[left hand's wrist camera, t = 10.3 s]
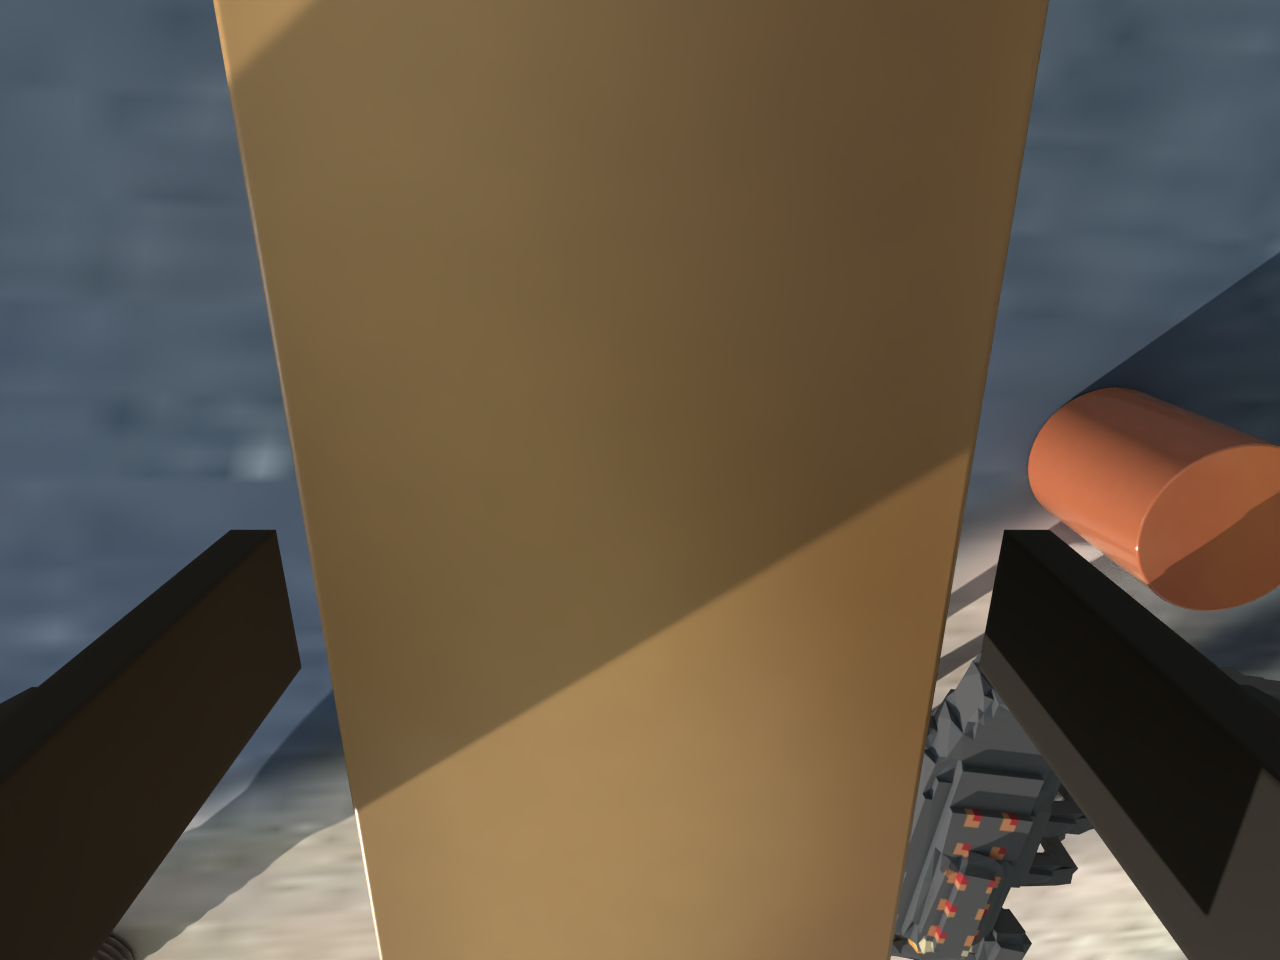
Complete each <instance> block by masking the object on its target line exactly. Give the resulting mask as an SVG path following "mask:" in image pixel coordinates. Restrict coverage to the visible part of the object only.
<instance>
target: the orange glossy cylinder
mask: <svg viewBox="0 0 1280 960" xmlns="http://www.w3.org/2000/svg"><path fill="white" fill-rule="evenodd" d="M1028 475H1029V481H1030V485H1031V488H1032V491H1033V493H1034V495H1035V497H1036V499H1037V500H1038V501H1039V503H1040V504H1041V505H1042V506H1043V507H1044V508H1045V509H1046V510H1047V511H1049V512H1050V513H1051V514H1052V515H1054V516H1055V517H1056V518H1058V519H1059V520H1060V521H1061V522H1063V523H1064V524H1065V525H1067V526H1068V527H1069V528H1071V529H1072V530H1073V531H1074V532H1076V533H1077V534H1078V535H1080V536H1081V537H1082V538H1084V539H1085V540H1086V541H1087V542H1089V543H1090V544H1091V545H1093V546H1094V547H1095V548H1096V549H1098V550H1099V551H1100V552H1102V553H1103V554H1104V555H1106V556H1107V557H1108V558H1109V559H1111V560H1112V561H1113V562H1115V563H1116V564H1117V565H1118V566H1120V567H1121V568H1122V569H1124V570H1125V571H1126V572H1128V573H1129V574H1130V575H1131V576H1133V577H1134V578H1135V579H1137V580H1138V581H1139V582H1141V583H1142V584H1143V585H1144V586H1146V587H1147V588H1148V589H1150V590H1151V591H1152V592H1153V593H1155V594H1156V595H1157V596H1159V597H1160V598H1162V599H1163V600H1165V601H1167V602H1169V603H1171V604H1173V605H1176V606H1179V607H1182V608H1186V609H1191V610H1200V611H1214V610H1223V609H1229V608H1233V607H1237V606H1241V605H1244V604H1246V603H1249V602H1252V601H1254V600H1256V599H1258V598H1260V597H1262V596H1264V595H1266V594H1268V593H1269V592H1271V591H1273V590H1274V589H1276V588H1277V587H1279V586H1280V446H1279V445H1277V444H1274V443H1271V442H1269V441H1266V440H1264V439H1261V438H1259V437H1256V436H1253V435H1251V434H1248V433H1246V432H1243V431H1241V430H1238V429H1236V428H1233V427H1230V426H1228V425H1225V424H1223V423H1220V422H1218V421H1215V420H1212V419H1210V418H1207V417H1205V416H1202V415H1200V414H1197V413H1195V412H1192V411H1189V410H1187V409H1184V408H1182V407H1179V406H1177V405H1174V404H1171V403H1169V402H1166V401H1164V400H1161V399H1159V398H1156V397H1154V396H1151V395H1148V394H1146V393H1143V392H1140V391H1138V390H1134V389H1129V388H1119V387H1115V388H1105V389H1099V390H1095V391H1092V392H1089V393H1086V394H1084V395H1081V396H1079V397H1077V398H1075V399H1073V400H1072V401H1070V402H1068V403H1067V404H1065V405H1064V406H1063V407H1061V408H1060V409H1059V410H1058V411H1057V412H1056V413H1054V414H1053V415H1052V416H1051V417H1050V419H1049V420H1048V421H1047V422H1046V423H1045V424H1044V426H1043V427H1042V429H1041V430H1040V432H1039V433H1038V435H1037V437H1036V439H1035V441H1034V444H1033V446H1032V449H1031V453H1030V456H1029V464H1028Z"/></svg>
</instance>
